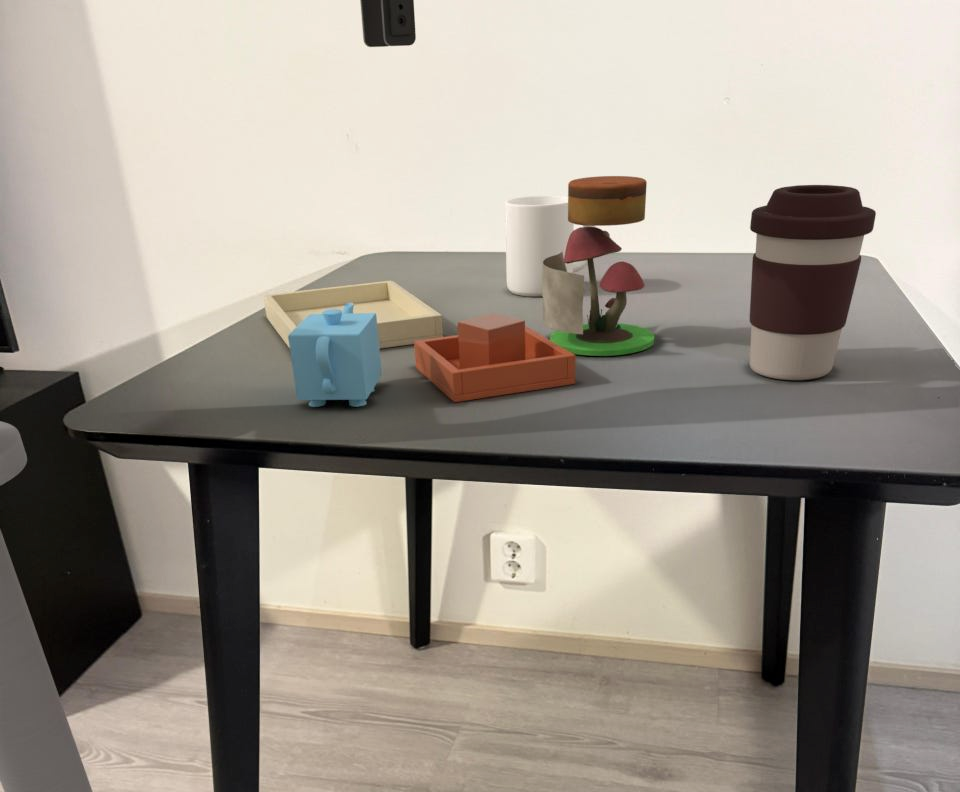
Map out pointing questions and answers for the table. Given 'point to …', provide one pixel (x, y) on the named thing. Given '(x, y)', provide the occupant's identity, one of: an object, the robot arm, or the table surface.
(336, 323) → the teapot
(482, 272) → the table surface
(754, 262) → the coffee cup
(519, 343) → the clay block
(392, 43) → the robot arm
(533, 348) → the terracotta tray
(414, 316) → the cream tray
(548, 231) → the mug
